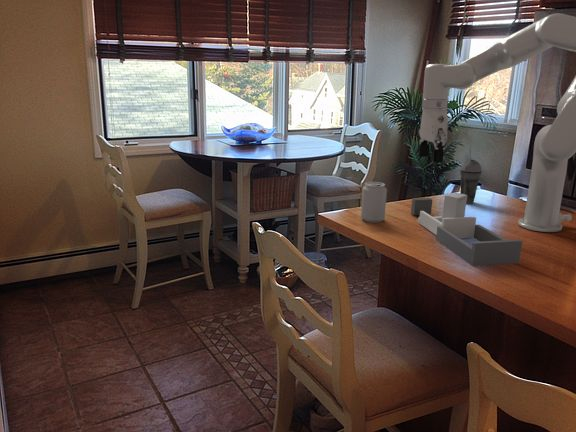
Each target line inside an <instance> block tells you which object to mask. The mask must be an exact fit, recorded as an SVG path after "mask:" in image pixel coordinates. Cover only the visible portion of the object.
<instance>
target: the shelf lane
mask: <svg viewBox="0 0 576 432" xmlns="http://www.w3.org/2000/svg"><path fill="white" fill-rule="evenodd" d="M473 239H475V240H477V241H472V245H471V244H469V243H468V242H466V241H464V240H463V239H462V238H458V237H457V236H455V235H454V234H452V233H451V232H449V231H448V230H446V229H445V228H443V227H441V226H438V227H437V235H435V241H437V242H438V241H439V242H438V243H440V244H441V243H442V244H441V245H443V246H444V247H445V246H446V247H445V248H446V249H448V250H450V251H451V252H452V253H453V254H455V255H457V256H458V257H459V258H460V259H462V260H464V261H465V262H466V263H468V264H469V265H471V266H472V267H478V266H491V265H492V266H495V265H508V264H509V265H510V264H519V263H520V259H521V252H522V247H523V240H522V239H520V238H519V239H506V238H504V237H502V236H500V235H498V234H497V233H495V232H494V231H492V230H489V229H488V228H486V227H485V226H483V225H482V224H475V232H474V238H473Z"/></svg>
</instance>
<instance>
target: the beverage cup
mask: <svg viewBox="0 0 576 432" xmlns="http://www.w3.org/2000/svg"><path fill="white" fill-rule="evenodd" d="M468 149H469V155H468V156H469V157H468V158H469V159H467V160H465V161H464V162H463V163H462V165H461V167H460V170H459V171H460V172H459V173H460V194H465V195H467V201H466V205H471V204H474V202H475V199H476V194H477V189H478V184H479V179H480V177H481V174H482V167H481V166H482V165H481V164H480V163H479V162H478V161H477V160H475V159H472V147H471V146H469V148H468Z"/></svg>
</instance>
